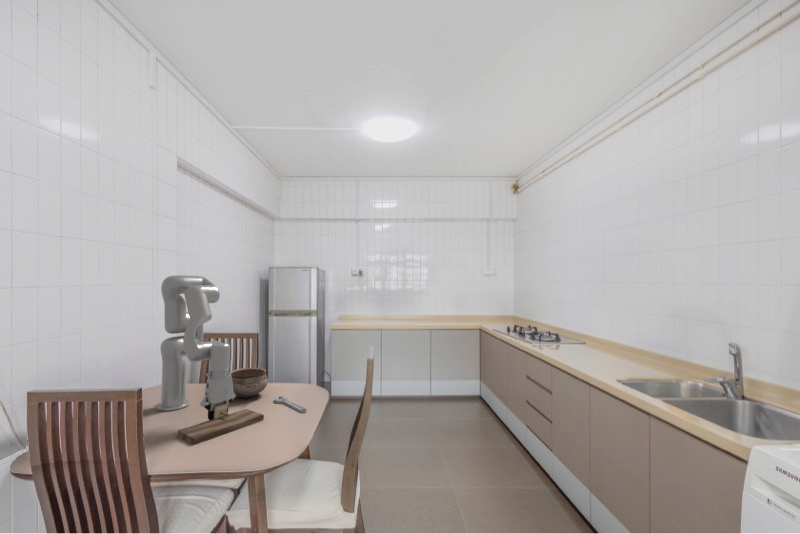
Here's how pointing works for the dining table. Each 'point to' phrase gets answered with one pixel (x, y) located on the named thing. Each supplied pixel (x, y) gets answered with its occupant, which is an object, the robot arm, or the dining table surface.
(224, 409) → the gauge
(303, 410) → the adjustable wrench
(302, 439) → the dining table surface
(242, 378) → the cooking pot
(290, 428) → the dining table surface
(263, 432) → the dining table surface
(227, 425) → the board
